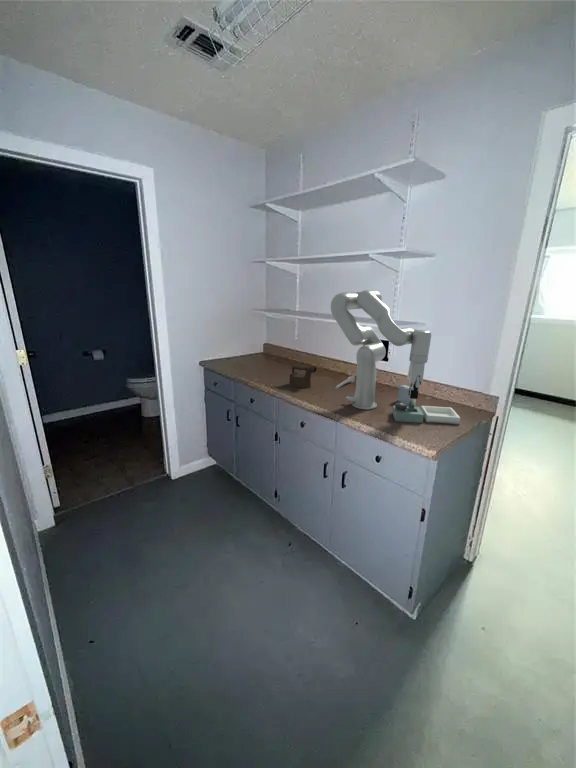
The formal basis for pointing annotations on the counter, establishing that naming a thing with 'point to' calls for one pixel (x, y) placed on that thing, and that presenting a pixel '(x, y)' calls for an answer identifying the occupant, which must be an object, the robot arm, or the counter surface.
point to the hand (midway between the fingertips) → (412, 396)
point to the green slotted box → (407, 413)
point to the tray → (440, 415)
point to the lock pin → (411, 401)
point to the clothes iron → (301, 377)
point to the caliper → (346, 381)
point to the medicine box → (403, 394)
